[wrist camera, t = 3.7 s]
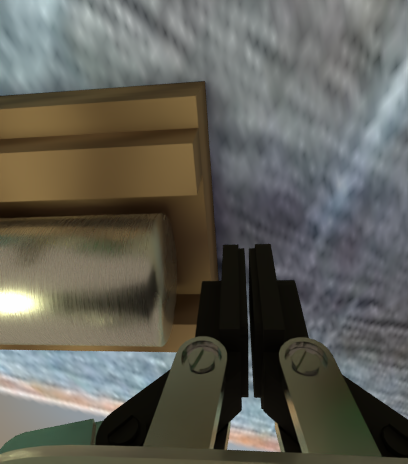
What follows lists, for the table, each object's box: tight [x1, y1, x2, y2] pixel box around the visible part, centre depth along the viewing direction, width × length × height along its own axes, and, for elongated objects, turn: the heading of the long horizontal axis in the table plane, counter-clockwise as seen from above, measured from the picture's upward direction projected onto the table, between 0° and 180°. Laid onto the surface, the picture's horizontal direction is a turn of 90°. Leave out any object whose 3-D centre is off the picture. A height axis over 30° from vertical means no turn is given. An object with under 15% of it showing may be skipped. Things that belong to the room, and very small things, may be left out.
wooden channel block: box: [0, 81, 219, 352], centre depth 17 cm, size 18×12×6 cm, turn 94°
